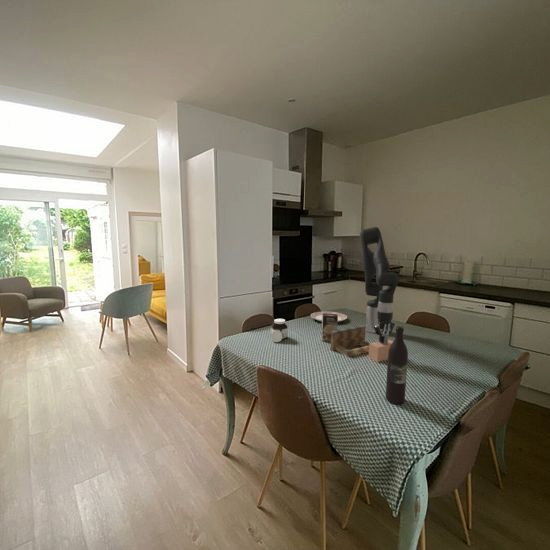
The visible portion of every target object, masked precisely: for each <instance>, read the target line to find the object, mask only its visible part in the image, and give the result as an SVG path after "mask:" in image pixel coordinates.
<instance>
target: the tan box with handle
mask: <svg viewBox="0 0 550 550" xmlns="http://www.w3.org/2000/svg"><path fill="white" fill-rule="evenodd" d="M381 334H382V332H381ZM393 341H394V340H390V339H389V335H387V334H384V343H381V342H380V341H379V340H378V341H375V342H374V341H373V342H369V343H370V344H369V352H368V359H369V358H370V359H369V360H371V359H372V360H371V361H373V360H374V361H373V362H375V361H376V363H381V362H384V361H388V360H387V359H388V352H389V348H390V346H391V344H392V343H393ZM383 360H384V361H383ZM380 361H381V362H380Z"/></svg>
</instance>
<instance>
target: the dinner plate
mask: <svg viewBox="0 0 550 550" xmlns="http://www.w3.org/2000/svg"><path fill="white" fill-rule="evenodd" d="M322 313H327V314H337V316H338V323H339V322H342V321H345V320H347V318H348V316H347V315H346V314H343V313H340V312H336V311H317V312H313V313H311V314H310V317H311V318H312V319H313V320H316V321H318V322H321V323H322Z"/></svg>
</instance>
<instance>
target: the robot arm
mask: <svg viewBox="0 0 550 550" xmlns="http://www.w3.org/2000/svg"><path fill="white" fill-rule="evenodd" d="M359 236H360V243H361V249H362V261H363V271H364V281H365V282H364V284H365V285H364V287H365V289H364V291H365V294H366V295H367V296H370V297H376V298H374V299H371V300H368V301H366V313H365V316H366V317H365V326H366V329H365V332H367V333H372V334H376V335H377V336H378V337H379V338H378V342H379V341H380V342H381V343H384V334H387V335H388V336H390V334H392V333H393V330H394V327H395V325H396V324H395V322H392V320H393V317H394V316H393V315H394V295H395V291H396V288H397V286H398V283H399V276H398V274H397V273H396V272H394V271H392V272H390V268H391V266H390V262H389V260H388V257H387V254H386V249H385V246H384V241H383V236H382V234H381V230H380V228H379V227H377V226H375V227H374V226H373V227H369V228H366V229H365V228H364V229H362V230H360V233H359ZM374 244H377V245H376V249H375V251H374V252H373V251H372V250H371V249H370V247H369V245H374ZM375 276H376V277H375ZM374 277H375V280H376V281H375V282H374V281H372V279H373V278H374ZM384 287H387V288H385V289H383V288H384ZM381 333H382V334H381Z"/></svg>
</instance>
